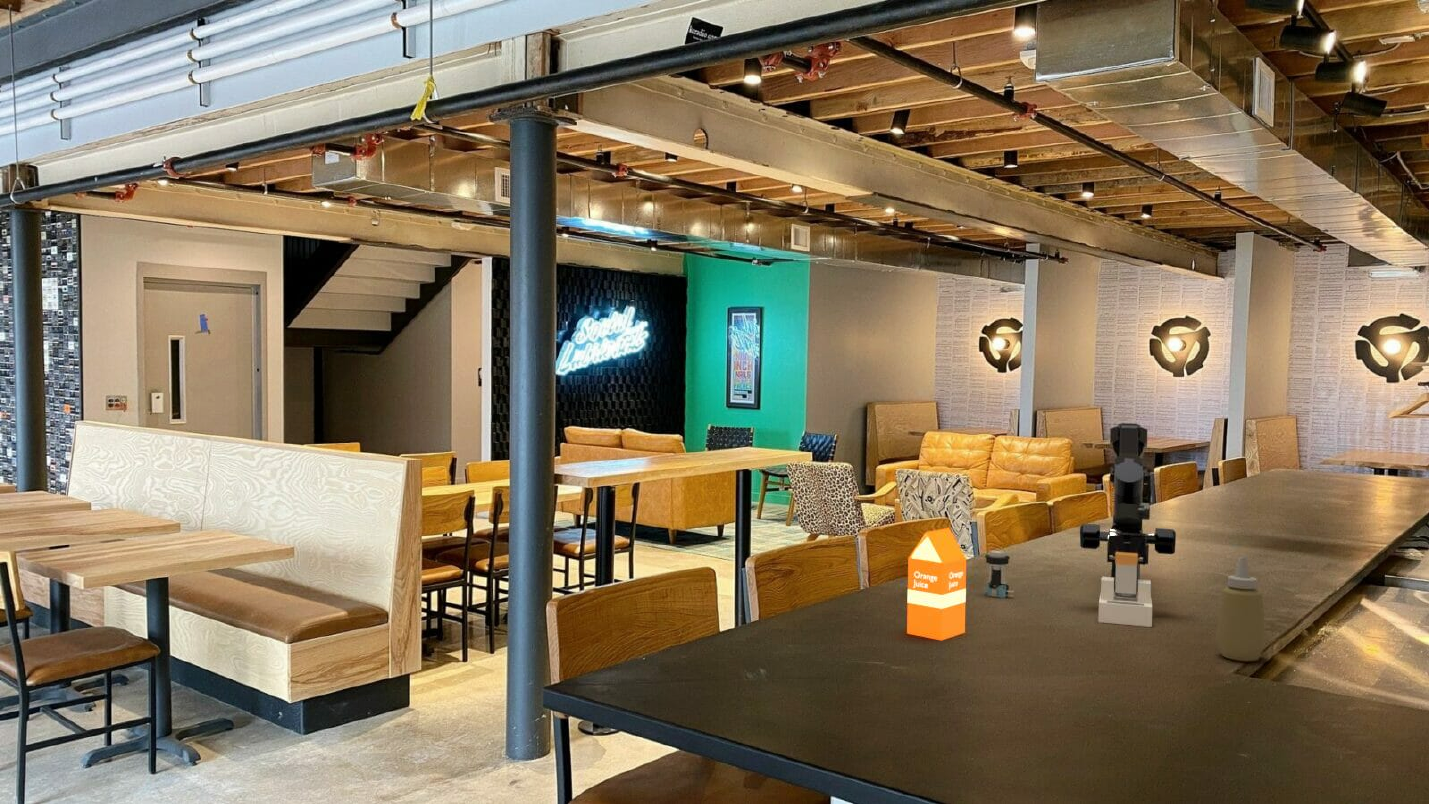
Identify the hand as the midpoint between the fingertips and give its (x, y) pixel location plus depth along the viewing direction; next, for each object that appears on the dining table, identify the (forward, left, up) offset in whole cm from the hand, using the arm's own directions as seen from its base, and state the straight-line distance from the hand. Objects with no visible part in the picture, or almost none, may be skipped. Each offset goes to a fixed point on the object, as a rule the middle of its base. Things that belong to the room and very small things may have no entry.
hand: (1126, 572), depth 218 cm
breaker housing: (+1, +1, -9) cm, 10 cm away
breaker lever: (+1, +1, -5) cm, 5 cm away
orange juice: (+43, -11, -10) cm, 46 cm away
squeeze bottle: (+9, +30, -10) cm, 33 cm away
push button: (+6, -28, -10) cm, 30 cm away
